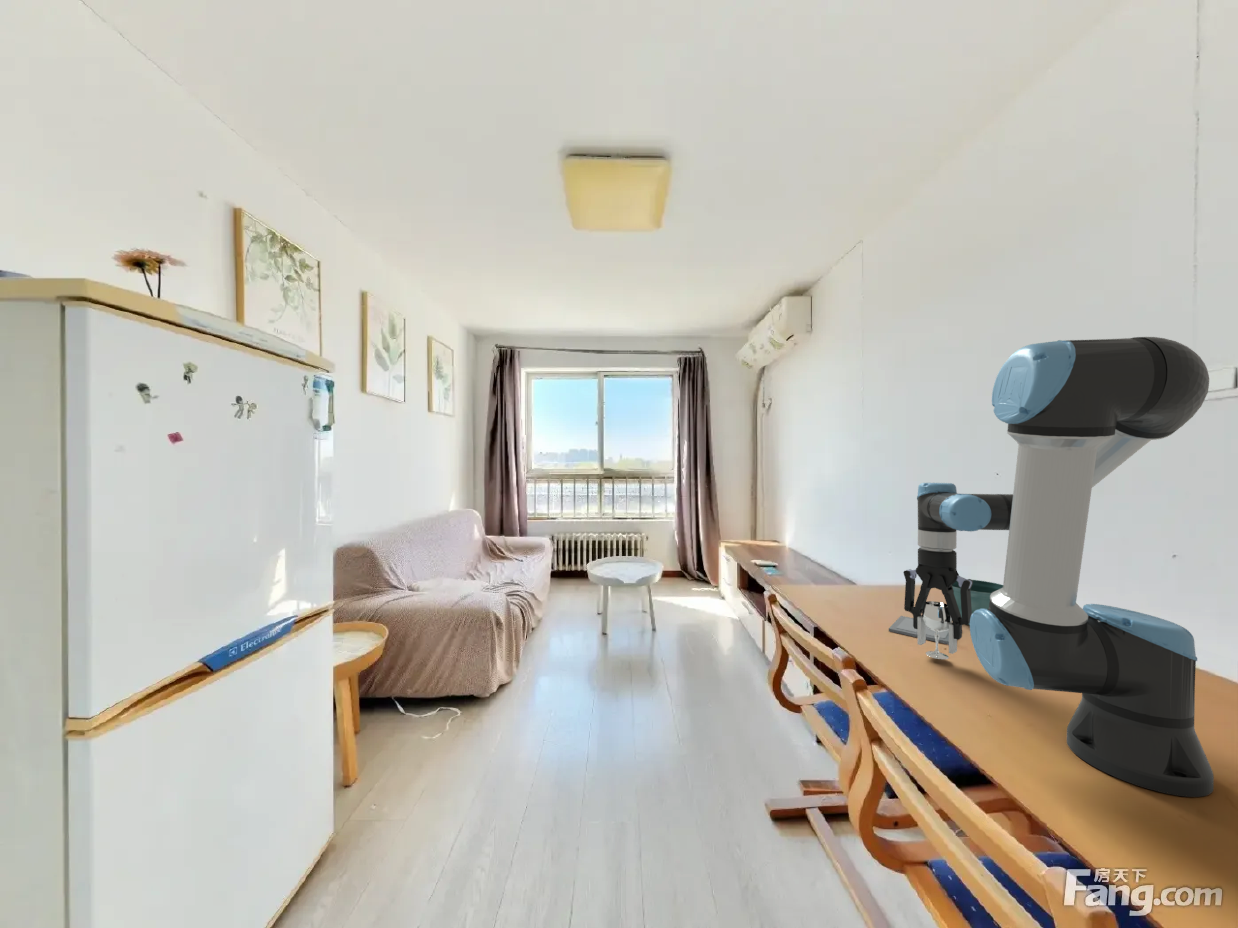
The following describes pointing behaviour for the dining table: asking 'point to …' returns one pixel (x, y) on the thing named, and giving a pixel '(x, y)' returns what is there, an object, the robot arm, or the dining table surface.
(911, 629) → the coaster
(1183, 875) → the dining table surface
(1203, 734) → the dining table surface
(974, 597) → the flower pot
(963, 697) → the dining table surface
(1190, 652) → the robot arm
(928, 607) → the wineglass
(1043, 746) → the dining table surface
